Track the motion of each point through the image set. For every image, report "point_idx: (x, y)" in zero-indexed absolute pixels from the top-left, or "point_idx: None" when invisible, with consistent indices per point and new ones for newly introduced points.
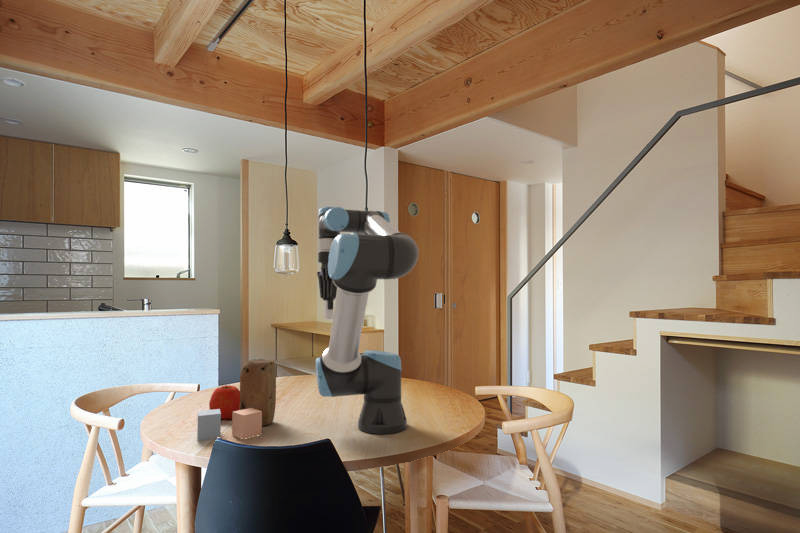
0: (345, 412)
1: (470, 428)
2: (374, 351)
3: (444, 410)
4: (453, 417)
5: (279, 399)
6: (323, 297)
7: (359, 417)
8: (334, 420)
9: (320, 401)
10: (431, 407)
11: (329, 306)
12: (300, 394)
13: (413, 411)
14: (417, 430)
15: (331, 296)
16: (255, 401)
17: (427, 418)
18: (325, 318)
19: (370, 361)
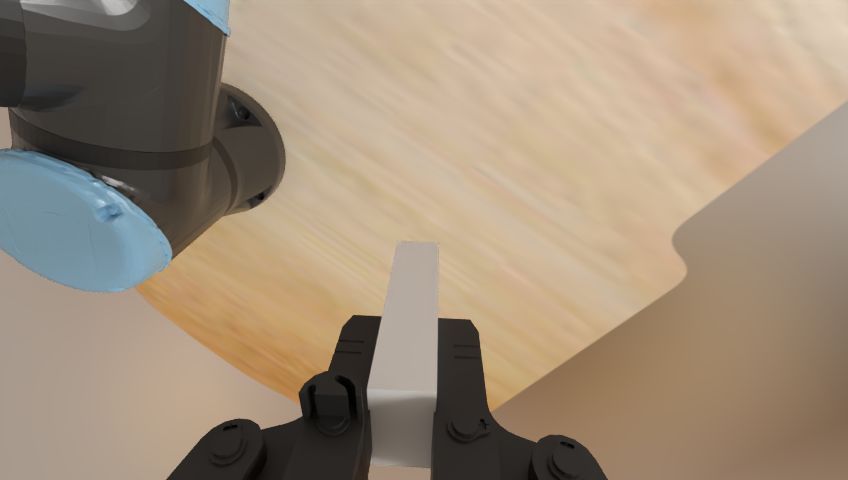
0: (407, 158)
1: None
2: (70, 221)
3: (281, 334)
4: (222, 311)
5: (718, 79)
6: (480, 444)
7: (223, 96)
8: (350, 82)
9: (572, 174)
10: (319, 332)
11: (348, 342)
12: (707, 176)
13: (311, 286)
14: None
15: (195, 453)
16: None
17: (241, 270)
18: (410, 244)
19: (13, 143)
